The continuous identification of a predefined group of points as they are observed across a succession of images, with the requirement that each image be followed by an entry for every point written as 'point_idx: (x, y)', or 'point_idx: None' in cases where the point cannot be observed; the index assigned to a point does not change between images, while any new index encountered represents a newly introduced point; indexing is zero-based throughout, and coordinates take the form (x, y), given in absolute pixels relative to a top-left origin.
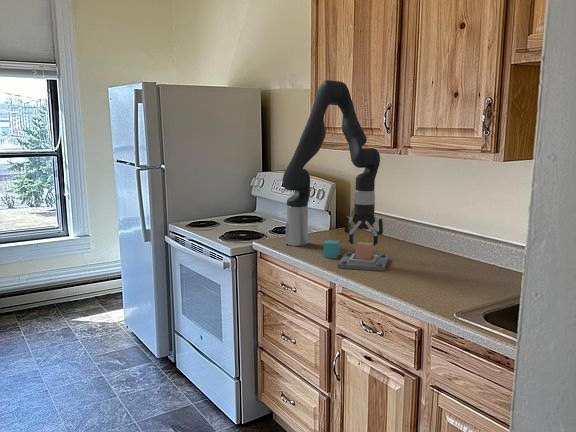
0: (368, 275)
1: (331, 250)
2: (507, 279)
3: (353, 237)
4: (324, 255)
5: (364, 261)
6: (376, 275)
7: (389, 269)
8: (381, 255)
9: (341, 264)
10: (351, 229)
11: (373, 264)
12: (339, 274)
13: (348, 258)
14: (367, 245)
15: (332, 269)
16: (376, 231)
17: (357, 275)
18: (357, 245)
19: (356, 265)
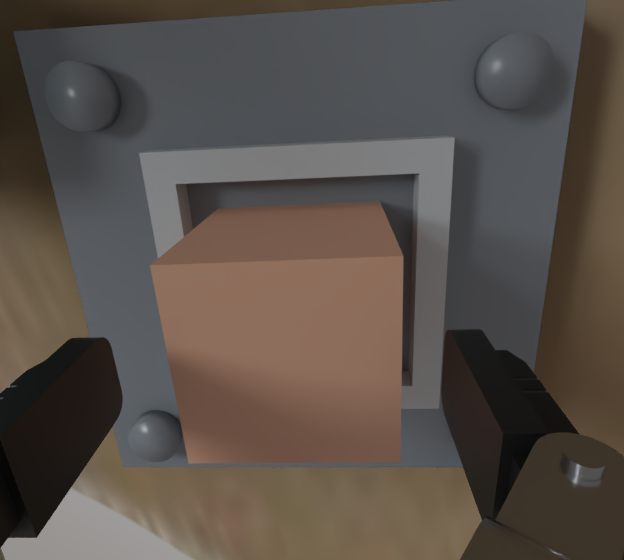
0: (397, 535)
1: None
2: None
3: (55, 404)
4: None
5: None
6: (453, 525)
7: (555, 370)
8: (497, 107)
9: (157, 464)
10: None
11: (422, 416)
12: (204, 552)
13: (144, 277)
14: (352, 427)
15: (116, 467)
16: (606, 536)
17: (324, 548)
18: (213, 457)
19: (282, 464)
